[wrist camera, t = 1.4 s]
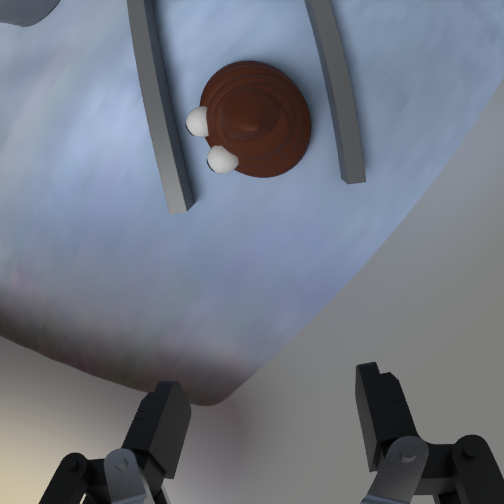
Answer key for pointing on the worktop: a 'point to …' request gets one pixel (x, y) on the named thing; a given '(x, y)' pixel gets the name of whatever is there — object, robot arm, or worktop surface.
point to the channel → (163, 116)
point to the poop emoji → (252, 120)
